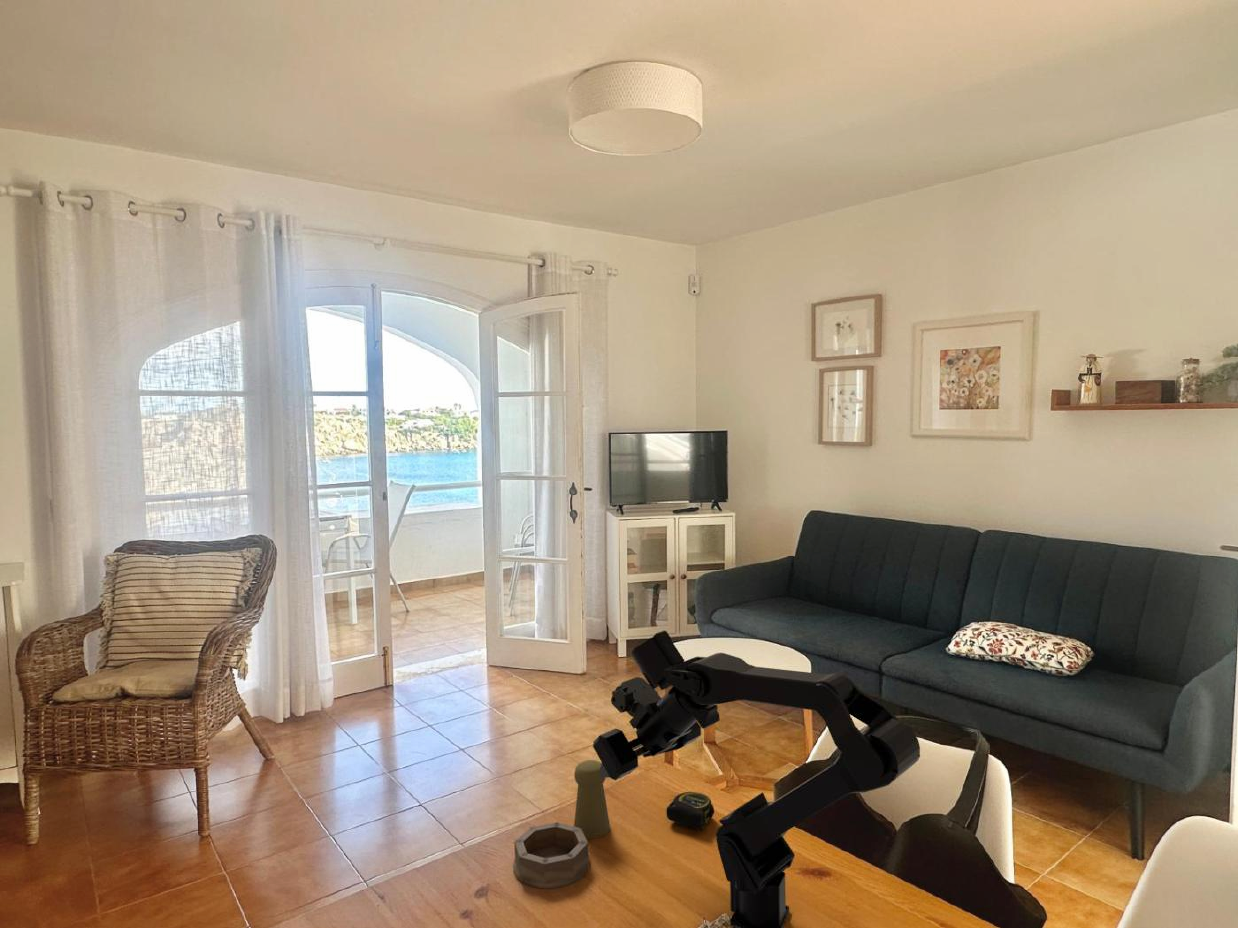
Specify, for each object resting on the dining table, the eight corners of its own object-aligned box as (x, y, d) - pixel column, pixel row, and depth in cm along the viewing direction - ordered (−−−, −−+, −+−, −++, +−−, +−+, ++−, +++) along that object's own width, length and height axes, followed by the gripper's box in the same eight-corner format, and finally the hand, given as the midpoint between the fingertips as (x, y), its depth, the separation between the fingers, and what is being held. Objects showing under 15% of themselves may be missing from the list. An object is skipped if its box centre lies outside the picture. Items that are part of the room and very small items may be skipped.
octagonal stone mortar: (603, 853, 117) (602, 831, 117) (564, 896, 107) (563, 872, 107) (540, 836, 123) (540, 815, 122) (497, 875, 112) (497, 852, 112)
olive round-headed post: (605, 839, 121) (603, 773, 121) (569, 836, 123) (567, 770, 122) (613, 820, 127) (611, 756, 127) (578, 817, 128) (576, 754, 128)
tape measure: (664, 824, 126) (663, 803, 125) (685, 807, 131) (685, 786, 131) (700, 837, 122) (699, 814, 121) (720, 818, 127) (720, 796, 127)
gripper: (685, 651, 120) (636, 702, 129) (600, 683, 107) (552, 736, 116) (726, 713, 115) (672, 761, 124) (641, 753, 102) (588, 804, 111)
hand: (622, 763), depth 119 cm, fingers open, 9 cm apart
